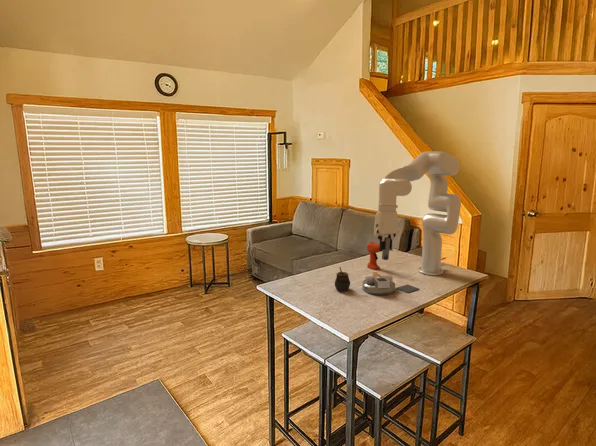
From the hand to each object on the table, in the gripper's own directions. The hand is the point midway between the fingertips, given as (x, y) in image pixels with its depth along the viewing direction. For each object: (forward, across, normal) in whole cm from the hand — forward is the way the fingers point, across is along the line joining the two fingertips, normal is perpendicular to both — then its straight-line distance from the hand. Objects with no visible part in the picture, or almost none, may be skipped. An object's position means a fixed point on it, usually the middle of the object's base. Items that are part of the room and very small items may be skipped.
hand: (385, 248), depth 168 cm
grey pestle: (+5, 0, 0) cm, 5 cm away
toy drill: (+21, -17, -27) cm, 39 cm away
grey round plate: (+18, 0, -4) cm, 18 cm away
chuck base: (+21, 0, -4) cm, 21 cm away
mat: (+21, -12, +1) cm, 24 cm away
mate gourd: (+21, +16, -11) cm, 29 cm away
